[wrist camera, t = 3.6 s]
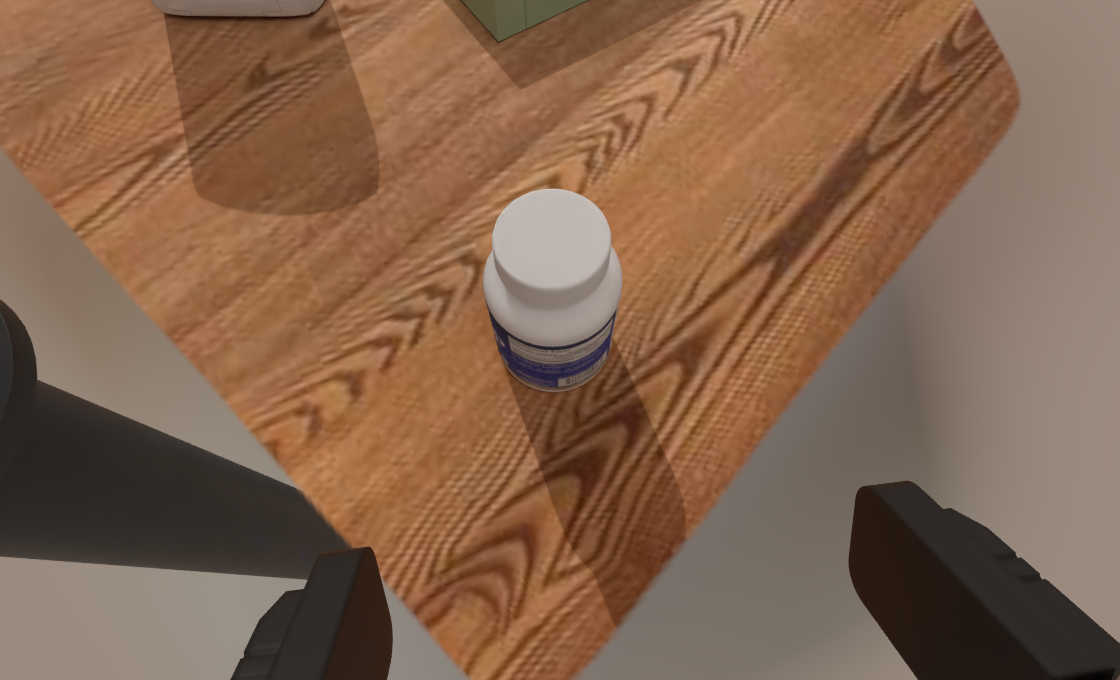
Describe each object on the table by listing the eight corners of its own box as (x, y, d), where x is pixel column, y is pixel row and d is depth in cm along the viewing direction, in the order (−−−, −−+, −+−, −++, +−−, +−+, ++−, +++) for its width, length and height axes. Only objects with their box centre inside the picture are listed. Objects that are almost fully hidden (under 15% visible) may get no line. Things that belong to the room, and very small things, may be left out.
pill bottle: (505, 287, 29) (483, 165, 21) (613, 295, 29) (634, 175, 21) (491, 391, 27) (461, 300, 19) (607, 400, 27) (628, 312, 19)
